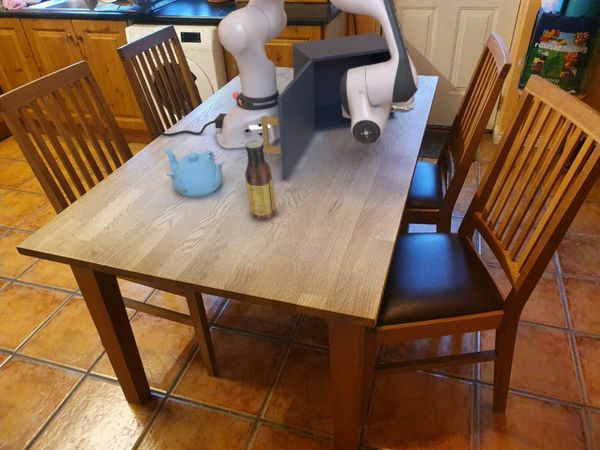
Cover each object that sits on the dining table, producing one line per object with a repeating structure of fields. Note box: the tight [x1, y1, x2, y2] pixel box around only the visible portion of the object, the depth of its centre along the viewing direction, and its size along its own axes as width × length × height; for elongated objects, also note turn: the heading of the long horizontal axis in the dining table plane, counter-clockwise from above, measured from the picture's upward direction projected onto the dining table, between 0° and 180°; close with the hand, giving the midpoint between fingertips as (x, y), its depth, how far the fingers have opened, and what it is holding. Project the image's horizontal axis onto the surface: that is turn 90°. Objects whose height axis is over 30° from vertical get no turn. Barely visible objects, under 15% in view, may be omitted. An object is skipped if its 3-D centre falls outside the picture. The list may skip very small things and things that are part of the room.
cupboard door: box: [261, 60, 315, 181], centre depth 132 cm, size 7×30×24 cm, turn 163°
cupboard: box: [291, 32, 395, 133], centre depth 154 cm, size 18×30×24 cm, turn 108°
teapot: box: [163, 147, 226, 198], centre depth 123 cm, size 15×15×10 cm
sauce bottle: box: [244, 139, 276, 221], centre depth 109 cm, size 7×6×20 cm
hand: (379, 89), depth 134 cm, fingers closed on soda can, 5 cm apart
